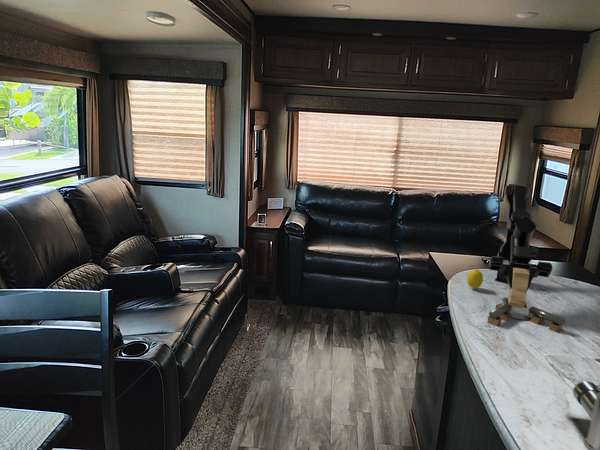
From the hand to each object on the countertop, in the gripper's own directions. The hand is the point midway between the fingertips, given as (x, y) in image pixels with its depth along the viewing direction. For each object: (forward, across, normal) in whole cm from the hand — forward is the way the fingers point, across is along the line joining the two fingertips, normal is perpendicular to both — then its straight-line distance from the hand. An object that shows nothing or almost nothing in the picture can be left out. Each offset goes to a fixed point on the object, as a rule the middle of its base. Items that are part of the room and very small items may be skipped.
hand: (519, 289), depth 147 cm
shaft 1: (+12, -5, +1) cm, 13 cm away
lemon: (-7, -12, +20) cm, 24 cm away
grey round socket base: (+5, 0, +7) cm, 9 cm away
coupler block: (+4, 0, +6) cm, 7 cm away
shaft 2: (+10, +8, +2) cm, 13 cm away
